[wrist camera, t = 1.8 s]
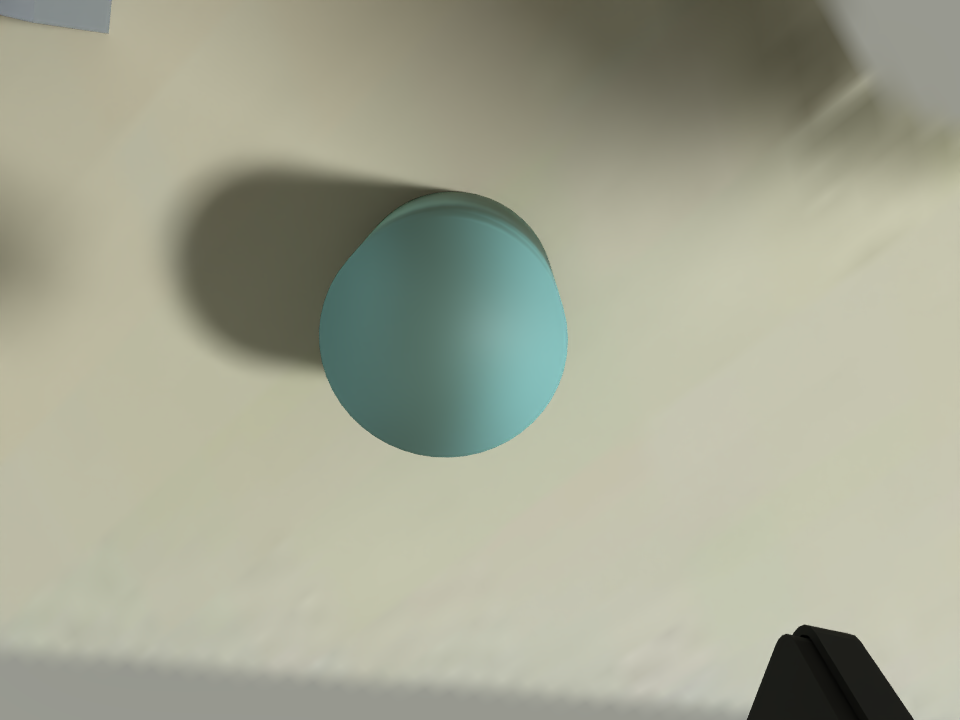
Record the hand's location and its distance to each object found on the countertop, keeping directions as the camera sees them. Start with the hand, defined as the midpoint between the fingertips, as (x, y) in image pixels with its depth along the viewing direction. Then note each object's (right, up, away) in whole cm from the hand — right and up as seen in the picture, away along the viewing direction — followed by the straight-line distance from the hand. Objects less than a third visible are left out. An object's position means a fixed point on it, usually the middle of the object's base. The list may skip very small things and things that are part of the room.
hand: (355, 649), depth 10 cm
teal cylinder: (+1, +5, +16) cm, 17 cm away
